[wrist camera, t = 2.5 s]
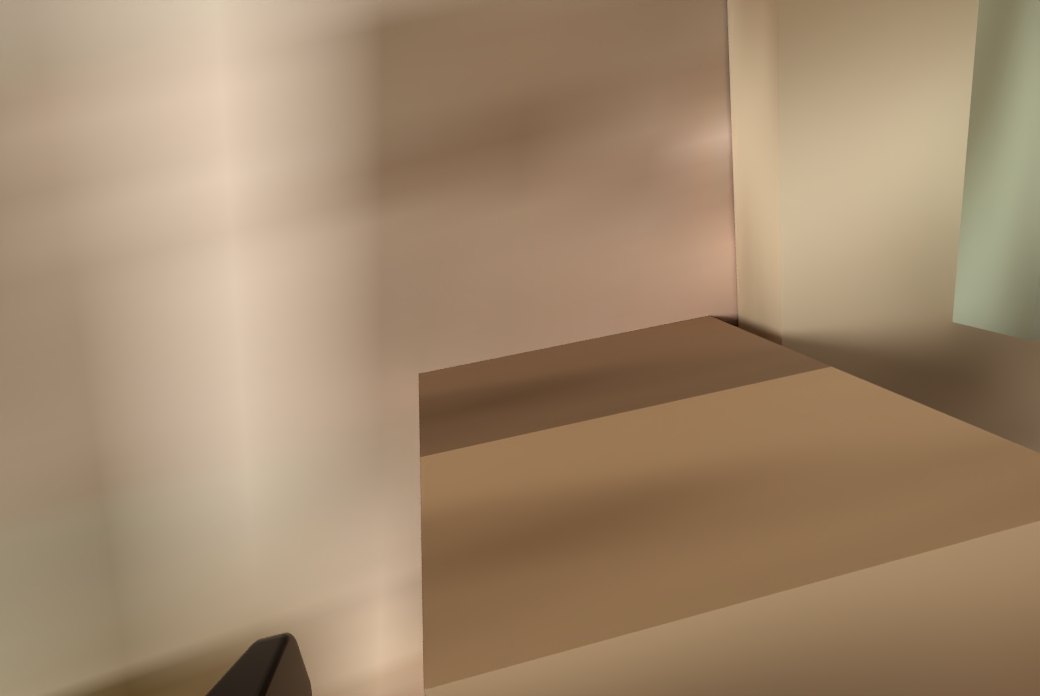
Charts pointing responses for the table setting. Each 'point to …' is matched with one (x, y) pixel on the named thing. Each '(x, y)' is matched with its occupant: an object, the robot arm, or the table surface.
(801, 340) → the board
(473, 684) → the block
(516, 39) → the table surface
